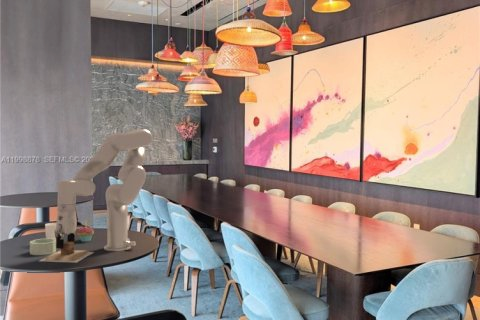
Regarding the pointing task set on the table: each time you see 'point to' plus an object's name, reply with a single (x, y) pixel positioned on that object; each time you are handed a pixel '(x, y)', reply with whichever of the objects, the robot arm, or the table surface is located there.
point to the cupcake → (85, 233)
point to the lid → (67, 253)
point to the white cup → (50, 230)
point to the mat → (68, 261)
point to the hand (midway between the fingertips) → (65, 245)
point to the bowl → (42, 246)
